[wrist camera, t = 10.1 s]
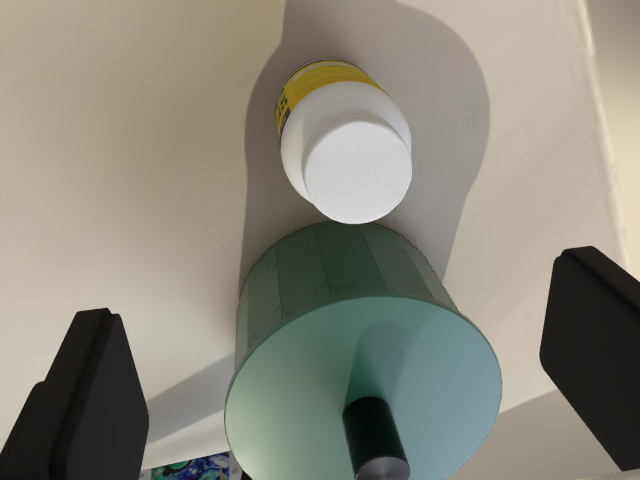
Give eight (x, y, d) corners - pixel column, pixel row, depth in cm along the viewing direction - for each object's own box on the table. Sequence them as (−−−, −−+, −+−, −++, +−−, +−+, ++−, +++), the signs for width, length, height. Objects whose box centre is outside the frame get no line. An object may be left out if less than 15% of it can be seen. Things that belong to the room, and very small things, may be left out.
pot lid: (205, 300, 23) (195, 371, 19) (506, 267, 24) (559, 327, 20) (242, 508, 29) (241, 596, 25) (482, 474, 30) (518, 553, 26)
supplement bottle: (261, 72, 27) (266, 120, 18) (366, 44, 27) (422, 78, 18) (289, 172, 29) (306, 257, 20) (385, 146, 29) (443, 220, 20)
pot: (225, 230, 30) (217, 316, 23) (439, 209, 31) (500, 284, 24) (250, 397, 36) (251, 510, 28) (431, 374, 37) (478, 478, 29)
